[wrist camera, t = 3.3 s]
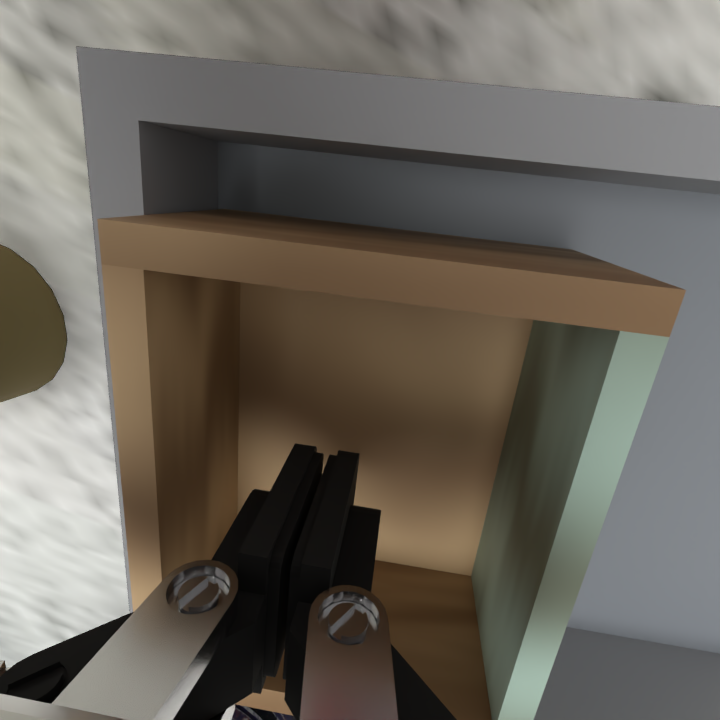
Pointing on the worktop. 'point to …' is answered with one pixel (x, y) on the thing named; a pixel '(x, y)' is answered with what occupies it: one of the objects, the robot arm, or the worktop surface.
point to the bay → (492, 222)
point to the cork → (27, 328)
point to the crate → (386, 416)
